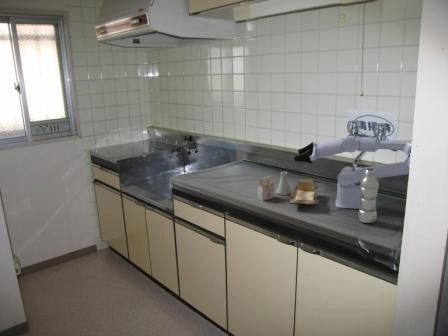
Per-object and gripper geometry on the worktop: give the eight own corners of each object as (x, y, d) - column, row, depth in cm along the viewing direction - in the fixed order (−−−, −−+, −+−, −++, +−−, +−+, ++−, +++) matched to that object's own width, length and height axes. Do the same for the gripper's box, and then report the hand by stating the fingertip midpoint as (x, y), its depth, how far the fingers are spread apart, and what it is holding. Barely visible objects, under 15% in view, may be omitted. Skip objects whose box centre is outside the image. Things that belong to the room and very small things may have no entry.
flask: (281, 189, 181) (281, 169, 179) (294, 192, 177) (294, 171, 175) (273, 193, 176) (273, 173, 174) (286, 196, 172) (286, 175, 169)
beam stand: (318, 200, 165) (318, 196, 164) (318, 205, 159) (318, 200, 159) (290, 199, 168) (290, 194, 167) (289, 203, 162) (289, 198, 162)
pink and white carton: (257, 199, 170) (257, 177, 167) (268, 195, 173) (268, 174, 171) (262, 201, 167) (262, 179, 164) (274, 197, 170) (274, 176, 168)
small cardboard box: (317, 191, 172) (317, 185, 172) (315, 204, 151) (316, 197, 151) (294, 190, 175) (294, 183, 174) (289, 202, 154) (289, 195, 153)
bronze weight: (312, 188, 172) (312, 179, 171) (312, 191, 166) (312, 182, 165) (299, 187, 173) (299, 178, 173) (298, 190, 168) (298, 181, 167)
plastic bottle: (357, 224, 139) (360, 171, 134) (358, 217, 145) (361, 166, 140) (376, 226, 136) (380, 172, 132) (376, 219, 142) (380, 167, 138)
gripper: (327, 134, 161) (297, 141, 167) (322, 146, 149) (290, 153, 155) (332, 149, 163) (302, 155, 169) (327, 162, 151) (295, 169, 157)
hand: (296, 155), depth 162 cm, fingers open, 7 cm apart
